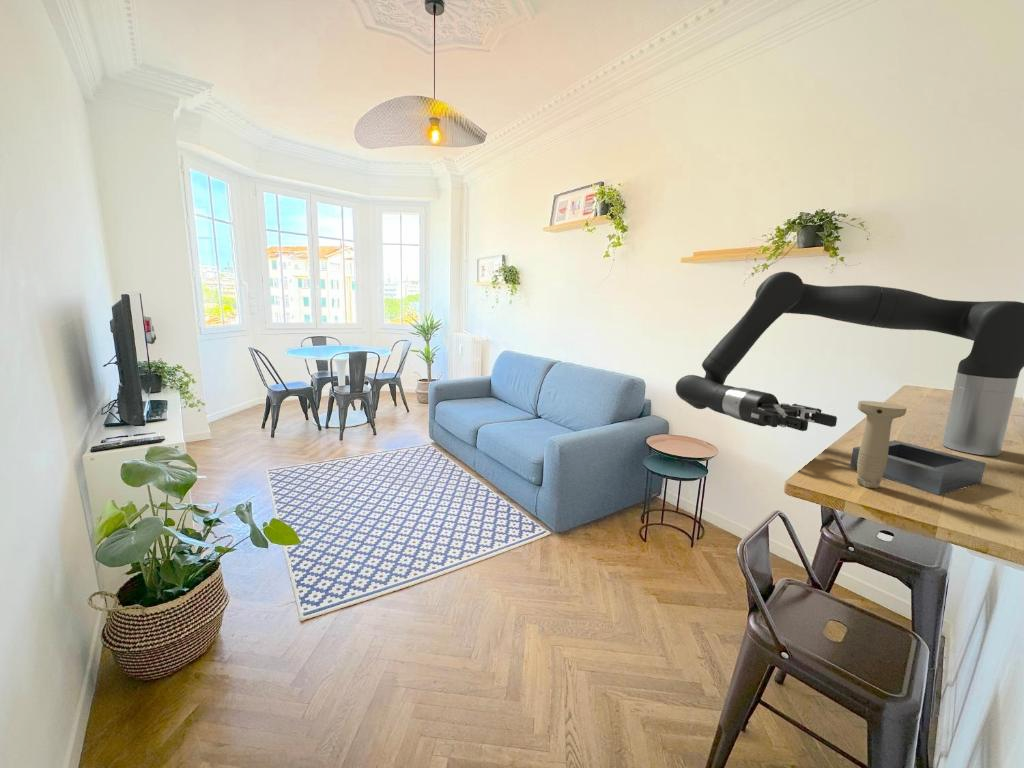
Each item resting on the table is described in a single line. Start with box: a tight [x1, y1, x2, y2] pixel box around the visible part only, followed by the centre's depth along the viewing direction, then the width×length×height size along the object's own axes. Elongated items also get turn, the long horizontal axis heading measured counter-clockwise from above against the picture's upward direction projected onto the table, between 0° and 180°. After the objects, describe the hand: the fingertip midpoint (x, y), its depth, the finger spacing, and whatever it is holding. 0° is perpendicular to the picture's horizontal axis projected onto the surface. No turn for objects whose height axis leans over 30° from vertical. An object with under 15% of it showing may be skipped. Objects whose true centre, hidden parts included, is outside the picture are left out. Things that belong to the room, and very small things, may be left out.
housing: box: [849, 439, 986, 496], centre depth 83 cm, size 14×14×4 cm
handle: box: [856, 400, 908, 489], centre depth 77 cm, size 5×6×15 cm
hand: (821, 424), depth 85 cm, fingers open, 8 cm apart
